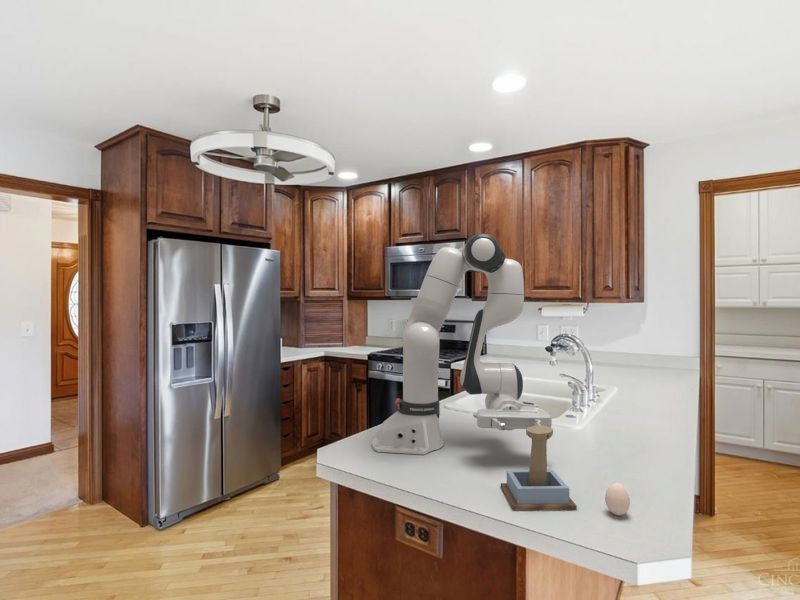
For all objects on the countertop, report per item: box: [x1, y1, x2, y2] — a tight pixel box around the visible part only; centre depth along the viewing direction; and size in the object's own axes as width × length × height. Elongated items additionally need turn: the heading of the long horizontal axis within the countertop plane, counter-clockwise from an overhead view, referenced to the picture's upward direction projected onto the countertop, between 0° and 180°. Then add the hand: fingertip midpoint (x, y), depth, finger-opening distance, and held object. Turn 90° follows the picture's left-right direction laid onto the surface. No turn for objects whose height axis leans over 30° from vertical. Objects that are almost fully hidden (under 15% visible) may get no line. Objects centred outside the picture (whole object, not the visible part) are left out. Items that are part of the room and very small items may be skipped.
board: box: [500, 482, 578, 512], centre depth 105 cm, size 14×12×1 cm
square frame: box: [506, 469, 570, 504], centre depth 105 cm, size 11×10×4 cm
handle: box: [525, 426, 554, 486], centre depth 105 cm, size 5×6×15 cm
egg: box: [604, 482, 631, 516], centre depth 97 cm, size 5×5×7 cm
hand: (520, 427), depth 118 cm, fingers open, 8 cm apart
